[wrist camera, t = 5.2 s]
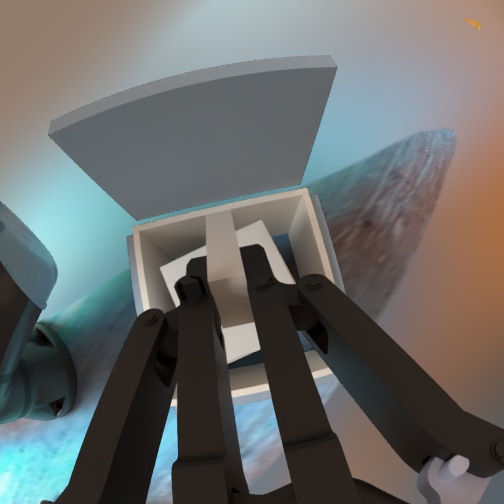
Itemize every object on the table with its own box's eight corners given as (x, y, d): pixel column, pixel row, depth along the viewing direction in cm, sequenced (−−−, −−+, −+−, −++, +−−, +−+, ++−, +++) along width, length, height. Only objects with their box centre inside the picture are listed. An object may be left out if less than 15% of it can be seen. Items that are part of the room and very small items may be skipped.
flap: (300, 184, 26) (337, 66, 12) (136, 220, 25) (48, 135, 11) (297, 174, 26) (330, 55, 12) (136, 210, 25) (51, 121, 11)
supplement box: (260, 256, 37) (265, 214, 22) (292, 321, 35) (319, 322, 20) (194, 287, 36) (155, 264, 21) (224, 353, 34) (204, 376, 19)
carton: (330, 357, 34) (364, 372, 22) (188, 388, 33) (158, 416, 21) (297, 226, 38) (316, 186, 26) (161, 256, 37) (123, 228, 25)
